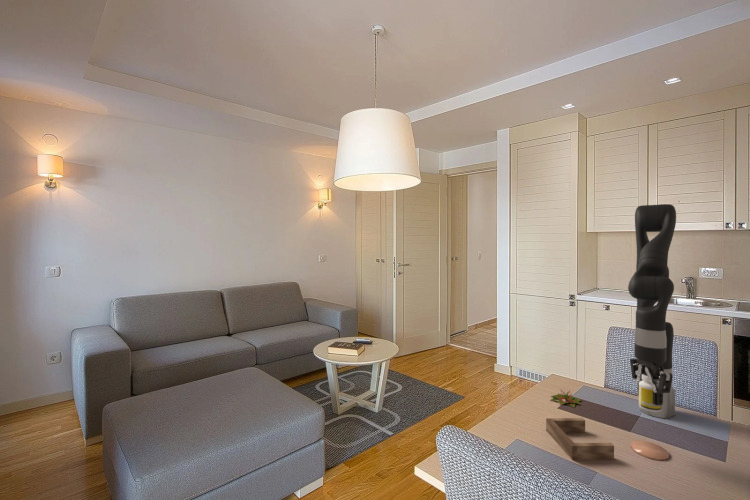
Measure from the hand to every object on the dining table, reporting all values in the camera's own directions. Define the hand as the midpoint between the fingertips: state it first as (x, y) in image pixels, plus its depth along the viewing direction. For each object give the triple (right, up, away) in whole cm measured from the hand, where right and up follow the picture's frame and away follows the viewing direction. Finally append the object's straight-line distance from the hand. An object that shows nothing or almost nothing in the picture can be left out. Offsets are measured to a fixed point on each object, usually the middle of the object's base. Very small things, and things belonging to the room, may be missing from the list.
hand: (649, 400), depth 107 cm
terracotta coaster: (0, -15, 0) cm, 15 cm away
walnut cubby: (-19, -15, +5) cm, 25 cm away
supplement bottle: (0, -3, 0) cm, 3 cm away
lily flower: (-7, -15, +34) cm, 38 cm away
